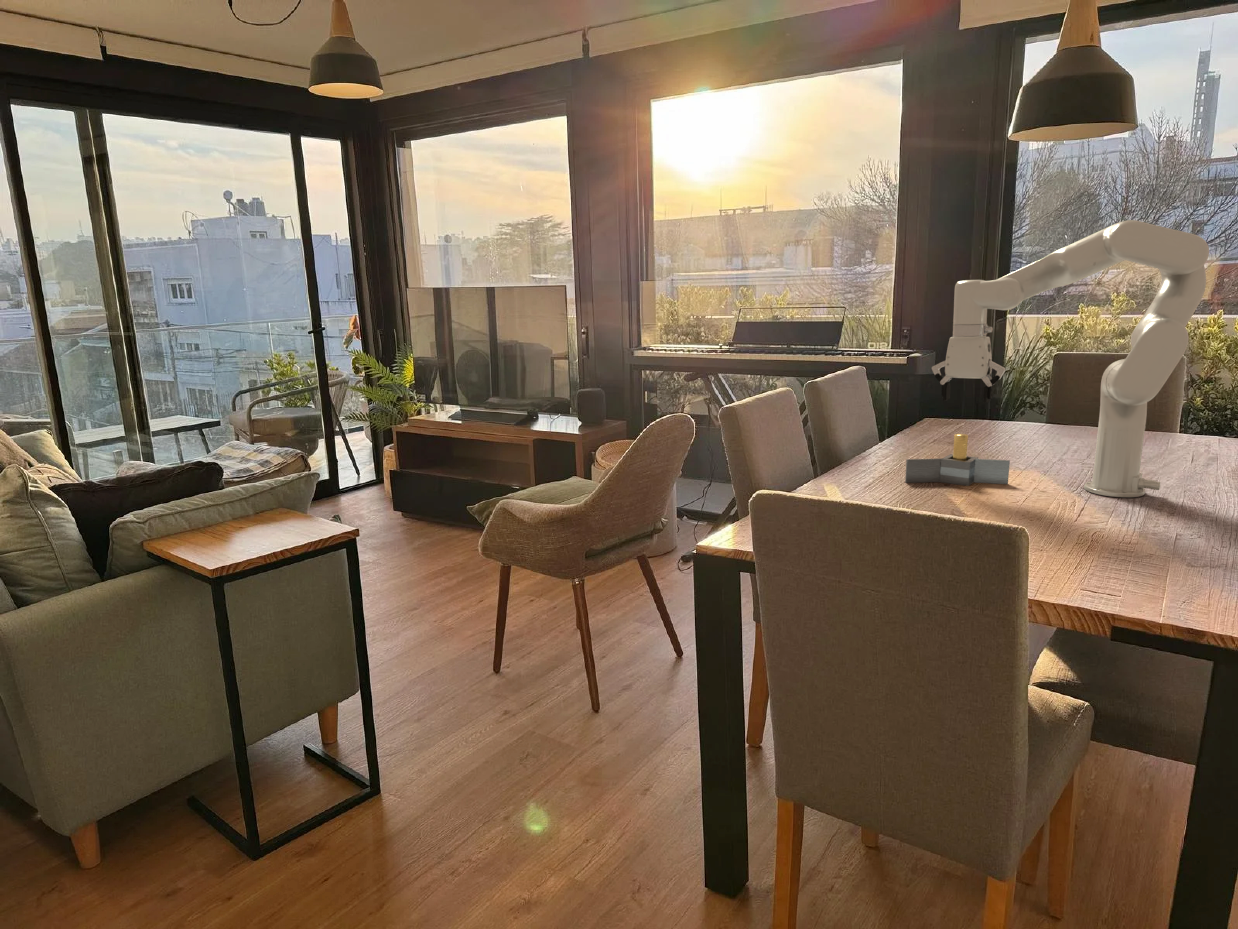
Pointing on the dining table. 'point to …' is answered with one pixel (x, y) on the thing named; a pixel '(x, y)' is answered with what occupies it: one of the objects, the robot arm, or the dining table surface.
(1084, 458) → the dining table surface
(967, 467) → the grey winged square socket
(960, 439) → the pin
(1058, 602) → the dining table surface
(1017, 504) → the dining table surface
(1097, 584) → the dining table surface
